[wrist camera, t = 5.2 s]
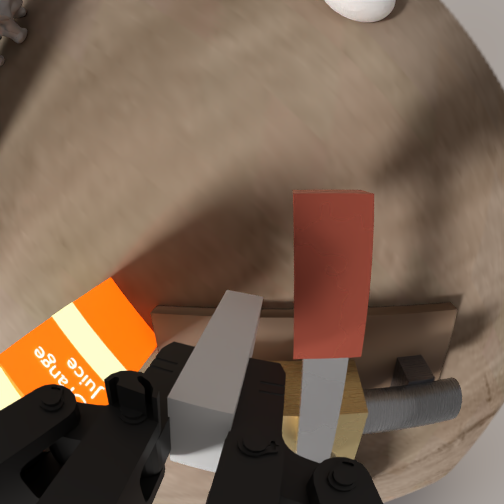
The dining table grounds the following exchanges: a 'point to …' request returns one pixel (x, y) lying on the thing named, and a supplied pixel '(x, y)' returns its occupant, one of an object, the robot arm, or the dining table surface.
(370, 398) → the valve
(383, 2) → the garlic bulb
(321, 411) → the valve lever
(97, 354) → the orange juice
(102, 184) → the dining table surface
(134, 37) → the dining table surface
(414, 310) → the mounting board
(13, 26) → the elephant statuette
